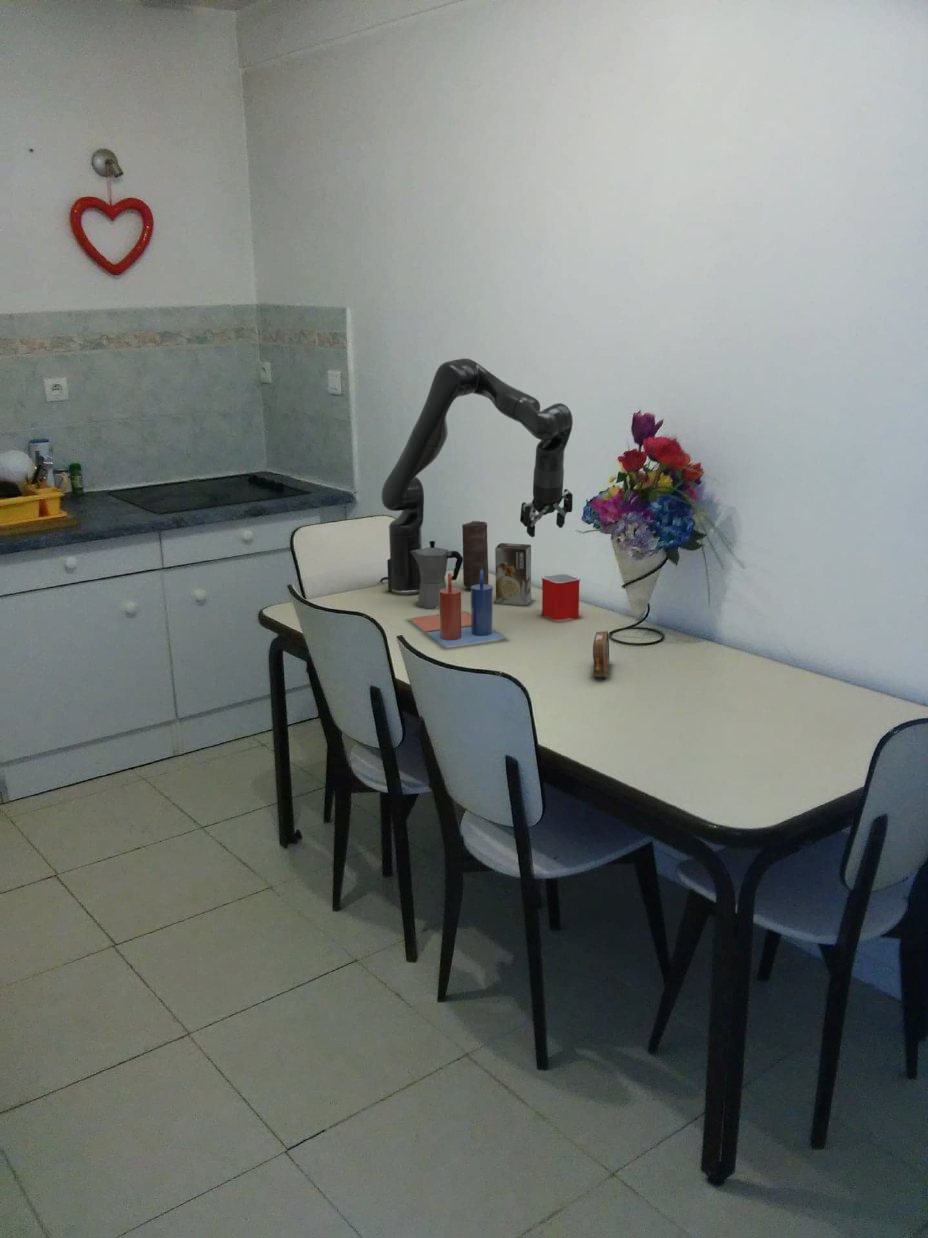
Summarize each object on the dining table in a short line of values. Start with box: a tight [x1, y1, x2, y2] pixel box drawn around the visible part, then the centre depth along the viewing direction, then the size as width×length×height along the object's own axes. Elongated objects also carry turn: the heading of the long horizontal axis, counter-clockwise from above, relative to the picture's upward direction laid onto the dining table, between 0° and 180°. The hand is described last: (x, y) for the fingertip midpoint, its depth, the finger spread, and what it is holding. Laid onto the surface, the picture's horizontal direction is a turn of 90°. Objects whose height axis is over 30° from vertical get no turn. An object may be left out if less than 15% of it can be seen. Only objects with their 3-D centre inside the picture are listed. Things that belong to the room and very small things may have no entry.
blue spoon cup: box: [470, 570, 494, 636], centre depth 267 cm, size 5×5×16 cm
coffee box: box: [494, 542, 532, 606], centre depth 296 cm, size 9×6×16 cm
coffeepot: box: [410, 540, 463, 610], centre depth 294 cm, size 15×9×18 cm, turn 70°
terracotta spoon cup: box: [438, 572, 462, 640], centre depth 264 cm, size 5×5×16 cm
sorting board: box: [408, 611, 506, 648], centre depth 273 cm, size 16×26×1 cm, turn 23°
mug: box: [541, 572, 581, 621], centre depth 284 cm, size 12×8×11 cm
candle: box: [461, 520, 490, 590], centre depth 309 cm, size 8×7×20 cm
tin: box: [592, 630, 610, 679], centre depth 242 cm, size 15×3×8 cm, turn 168°
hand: (545, 530), depth 278 cm, fingers open, 8 cm apart
